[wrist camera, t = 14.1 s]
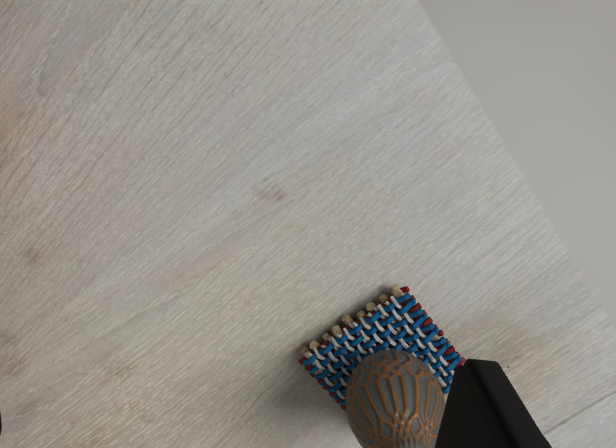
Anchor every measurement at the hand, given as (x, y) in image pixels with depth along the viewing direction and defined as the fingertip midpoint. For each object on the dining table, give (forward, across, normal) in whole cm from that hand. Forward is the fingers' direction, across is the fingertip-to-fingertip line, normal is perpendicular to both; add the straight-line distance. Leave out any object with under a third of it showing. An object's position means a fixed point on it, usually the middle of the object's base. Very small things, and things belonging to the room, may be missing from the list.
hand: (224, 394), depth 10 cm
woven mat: (+26, -10, +16) cm, 32 cm away
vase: (+24, -10, +16) cm, 31 cm away
